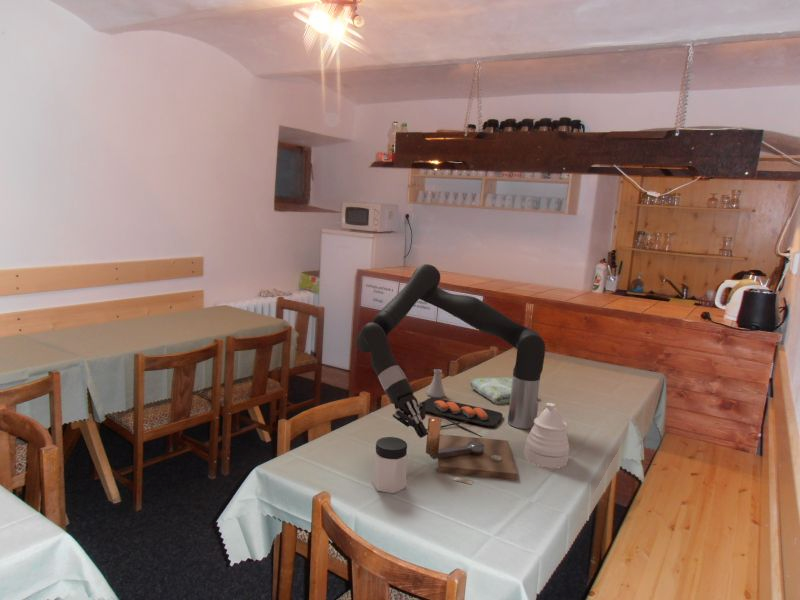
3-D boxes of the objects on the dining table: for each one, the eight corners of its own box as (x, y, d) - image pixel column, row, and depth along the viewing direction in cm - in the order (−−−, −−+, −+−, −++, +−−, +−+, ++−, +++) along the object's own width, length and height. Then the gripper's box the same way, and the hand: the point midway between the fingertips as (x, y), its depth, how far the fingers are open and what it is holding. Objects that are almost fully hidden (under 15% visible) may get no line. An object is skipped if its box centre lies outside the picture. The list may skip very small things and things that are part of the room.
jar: (388, 474, 159) (391, 433, 157) (411, 485, 154) (414, 443, 152) (365, 485, 152) (368, 442, 150) (388, 497, 147) (392, 453, 145)
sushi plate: (504, 418, 208) (505, 408, 207) (480, 448, 181) (481, 437, 180) (429, 401, 219) (430, 391, 219) (396, 427, 192) (397, 416, 192)
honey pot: (560, 472, 167) (568, 414, 164) (518, 459, 174) (524, 403, 171) (572, 457, 178) (580, 402, 175) (532, 445, 185) (539, 392, 182)
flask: (443, 399, 221) (446, 374, 219) (425, 396, 222) (427, 372, 220) (446, 393, 228) (448, 369, 226) (428, 390, 229) (430, 366, 227)
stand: (507, 446, 183) (508, 439, 182) (518, 489, 156) (519, 480, 156) (437, 439, 184) (438, 432, 183) (437, 481, 157) (438, 472, 157)
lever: (477, 446, 175) (481, 409, 173) (487, 453, 171) (491, 416, 169) (421, 455, 167) (425, 416, 165) (430, 462, 162) (433, 423, 160)
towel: (538, 400, 228) (540, 388, 227) (494, 406, 219) (495, 393, 218) (511, 385, 244) (512, 374, 243) (468, 390, 235) (469, 378, 234)
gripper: (402, 385, 179) (430, 435, 173) (373, 394, 169) (401, 448, 163) (417, 373, 174) (446, 424, 169) (387, 382, 164) (417, 436, 159)
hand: (424, 436), depth 166 cm, fingers closed
